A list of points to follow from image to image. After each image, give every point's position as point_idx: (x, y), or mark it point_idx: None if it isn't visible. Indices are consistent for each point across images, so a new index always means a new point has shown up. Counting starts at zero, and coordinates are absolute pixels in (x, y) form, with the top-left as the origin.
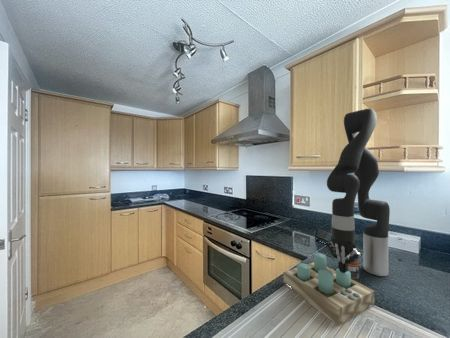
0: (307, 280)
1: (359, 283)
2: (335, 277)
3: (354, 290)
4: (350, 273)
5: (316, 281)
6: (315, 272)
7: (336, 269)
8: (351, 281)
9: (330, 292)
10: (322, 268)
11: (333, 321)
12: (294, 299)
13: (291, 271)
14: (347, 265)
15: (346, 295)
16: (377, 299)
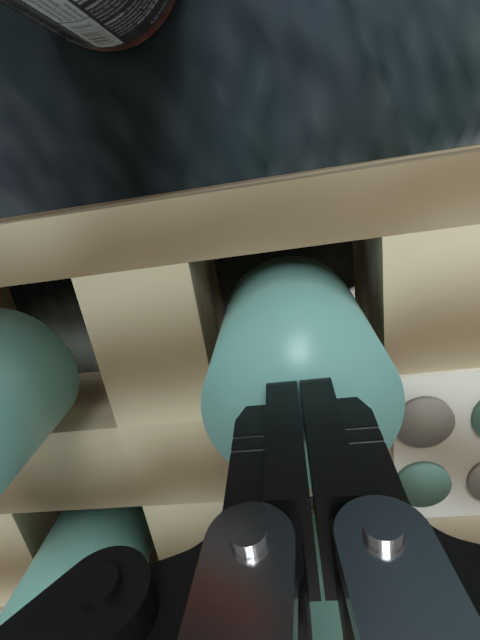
0: (149, 556)
1: (383, 170)
2: (186, 333)
3: (439, 353)
4: (386, 359)
5: (192, 529)
6: (56, 440)
7: (217, 444)
8: (312, 230)
9: None
10: (53, 422)
11: None
12: None
13: (12, 587)
14: (400, 493)
15: (451, 482)
16: (458, 22)
